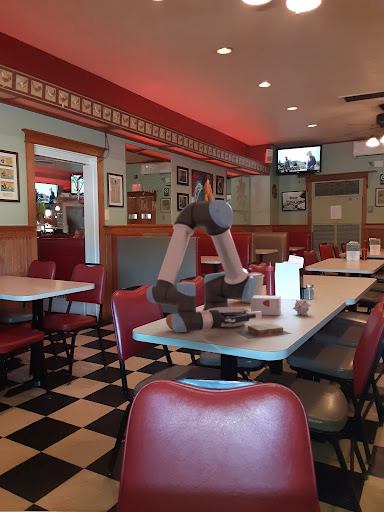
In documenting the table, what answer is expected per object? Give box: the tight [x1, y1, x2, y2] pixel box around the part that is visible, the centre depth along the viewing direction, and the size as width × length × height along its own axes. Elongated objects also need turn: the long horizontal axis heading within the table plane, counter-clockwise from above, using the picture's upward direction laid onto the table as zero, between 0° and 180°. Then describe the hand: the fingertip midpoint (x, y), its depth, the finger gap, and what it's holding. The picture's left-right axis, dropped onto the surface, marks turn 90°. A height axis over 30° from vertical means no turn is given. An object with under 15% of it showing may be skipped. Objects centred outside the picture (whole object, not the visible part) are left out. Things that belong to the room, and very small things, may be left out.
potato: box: [165, 312, 177, 331], centre depth 181 cm, size 10×14×8 cm
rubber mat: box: [235, 329, 292, 340], centre depth 174 cm, size 20×13×1 cm, turn 110°
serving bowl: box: [206, 306, 251, 328], centre depth 189 cm, size 21×21×7 cm
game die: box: [292, 298, 311, 316], centre depth 211 cm, size 9×8×10 cm
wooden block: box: [247, 322, 284, 336], centre depth 174 cm, size 2×9×12 cm
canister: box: [239, 267, 265, 304], centre depth 253 cm, size 18×18×21 cm
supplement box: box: [250, 295, 282, 316], centre depth 216 cm, size 9×9×15 cm
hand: (260, 314), depth 173 cm, fingers closed
